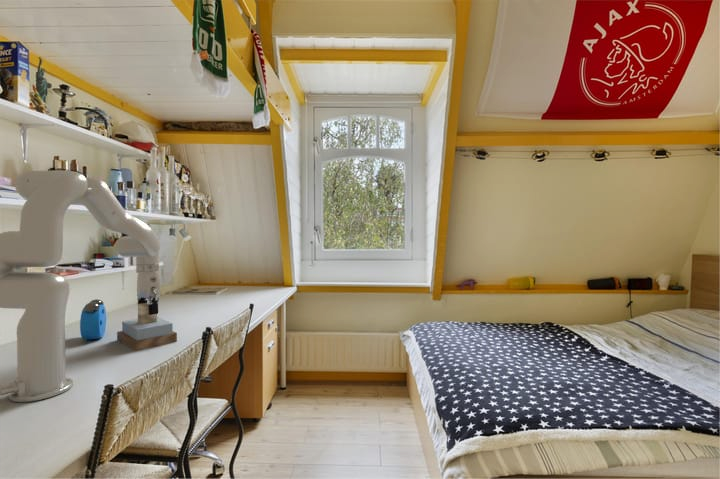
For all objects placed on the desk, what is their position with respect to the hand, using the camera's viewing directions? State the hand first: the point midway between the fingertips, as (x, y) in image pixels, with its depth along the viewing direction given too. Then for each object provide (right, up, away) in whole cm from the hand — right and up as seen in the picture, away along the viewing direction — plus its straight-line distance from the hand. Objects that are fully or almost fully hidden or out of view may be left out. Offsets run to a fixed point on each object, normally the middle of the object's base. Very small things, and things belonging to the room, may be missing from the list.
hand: (147, 312), depth 138 cm
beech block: (0, -4, 0) cm, 4 cm away
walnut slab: (0, -12, 0) cm, 12 cm away
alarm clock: (-22, -11, +2) cm, 25 cm away
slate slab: (0, -8, -1) cm, 8 cm away
